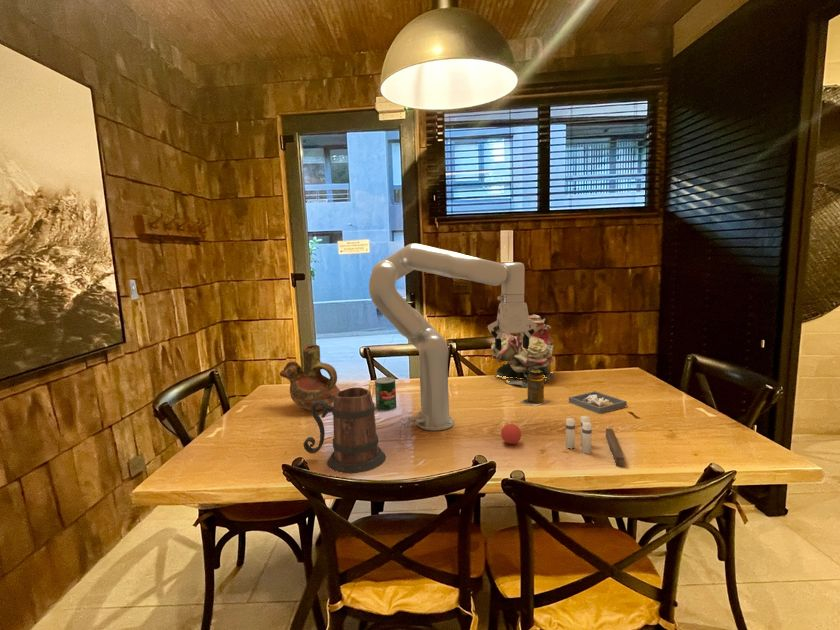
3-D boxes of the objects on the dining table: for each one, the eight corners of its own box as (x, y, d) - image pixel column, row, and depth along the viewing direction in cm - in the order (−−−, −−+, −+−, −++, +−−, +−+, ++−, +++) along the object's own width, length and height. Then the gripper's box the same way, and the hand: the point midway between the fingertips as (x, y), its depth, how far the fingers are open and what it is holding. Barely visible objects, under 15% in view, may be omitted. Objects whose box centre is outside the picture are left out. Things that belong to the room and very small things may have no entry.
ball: (509, 449, 132) (509, 429, 132) (497, 442, 138) (496, 423, 137) (525, 444, 135) (525, 425, 134) (512, 437, 140) (512, 419, 140)
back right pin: (586, 454, 127) (587, 425, 126) (580, 451, 129) (580, 423, 128) (593, 452, 128) (593, 424, 127) (586, 449, 130) (586, 421, 129)
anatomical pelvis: (610, 396, 165) (598, 398, 162) (609, 407, 165) (598, 409, 162) (592, 390, 172) (580, 392, 168) (591, 401, 172) (579, 403, 169)
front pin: (570, 449, 130) (570, 421, 129) (563, 446, 133) (563, 419, 132) (576, 447, 132) (576, 420, 130) (570, 444, 134) (570, 417, 133)
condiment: (548, 401, 173) (548, 370, 172) (536, 406, 168) (536, 375, 166) (531, 397, 179) (531, 367, 177) (519, 402, 173) (519, 372, 171)
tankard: (389, 446, 138) (386, 383, 135) (381, 473, 121) (377, 401, 118) (314, 447, 139) (309, 384, 137) (296, 474, 123) (290, 403, 120)
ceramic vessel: (293, 400, 187) (288, 340, 184) (351, 402, 181) (348, 341, 177) (270, 414, 171) (264, 349, 167) (334, 418, 164) (329, 350, 161)
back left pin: (585, 447, 132) (585, 419, 131) (578, 444, 134) (578, 416, 133) (591, 445, 133) (591, 417, 132) (584, 442, 135) (585, 415, 134)
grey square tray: (599, 413, 158) (599, 408, 157) (568, 402, 171) (568, 397, 170) (626, 406, 164) (626, 401, 163) (594, 396, 177) (594, 391, 176)
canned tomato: (387, 412, 168) (385, 383, 166) (371, 408, 172) (370, 381, 171) (400, 406, 174) (399, 378, 172) (385, 403, 179) (384, 376, 177)
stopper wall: (616, 466, 120) (616, 457, 119) (605, 436, 139) (605, 428, 139) (624, 466, 119) (624, 457, 119) (612, 436, 138) (612, 428, 138)
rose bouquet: (484, 377, 210) (482, 313, 206) (537, 369, 220) (536, 308, 216) (514, 392, 186) (513, 320, 182) (572, 382, 196) (572, 314, 192)
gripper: (491, 301, 147) (491, 352, 149) (541, 299, 150) (540, 349, 152) (484, 299, 154) (484, 348, 156) (532, 297, 157) (531, 345, 159)
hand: (512, 349), depth 154 cm, fingers open, 9 cm apart
